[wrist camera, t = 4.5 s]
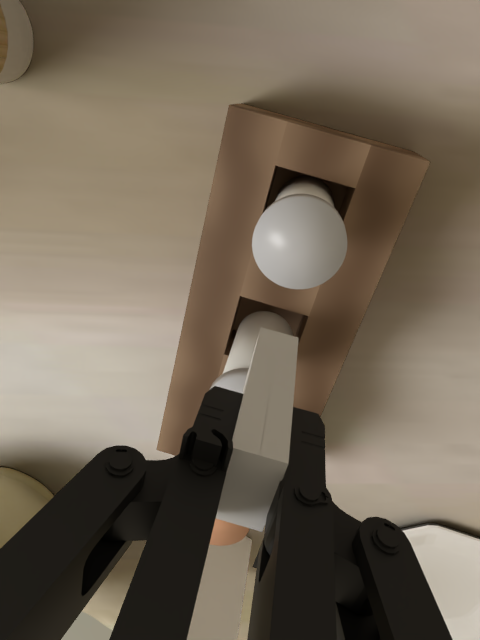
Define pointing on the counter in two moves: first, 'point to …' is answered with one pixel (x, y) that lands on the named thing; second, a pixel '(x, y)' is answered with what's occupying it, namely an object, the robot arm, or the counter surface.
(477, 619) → the plate
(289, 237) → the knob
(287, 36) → the counter surface
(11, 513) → the pitcher
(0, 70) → the coffee cup
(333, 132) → the mount
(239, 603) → the milk
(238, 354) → the knob mid
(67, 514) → the robot arm
